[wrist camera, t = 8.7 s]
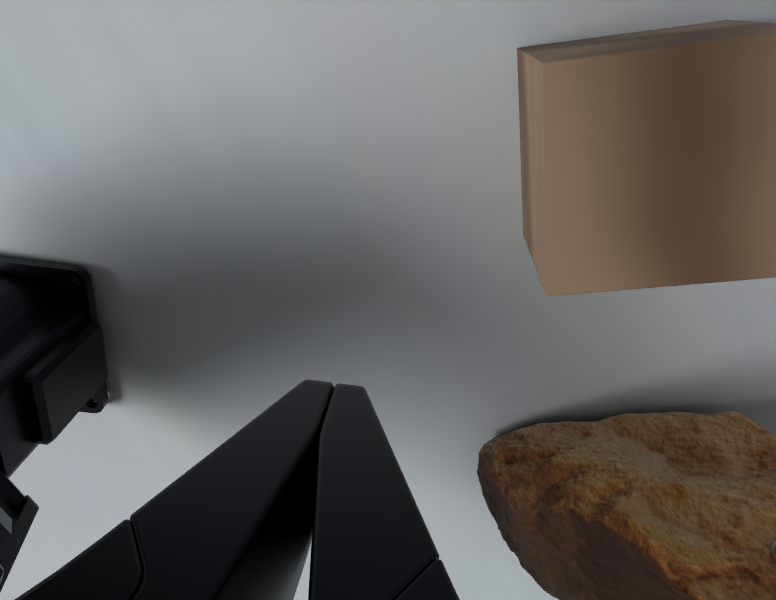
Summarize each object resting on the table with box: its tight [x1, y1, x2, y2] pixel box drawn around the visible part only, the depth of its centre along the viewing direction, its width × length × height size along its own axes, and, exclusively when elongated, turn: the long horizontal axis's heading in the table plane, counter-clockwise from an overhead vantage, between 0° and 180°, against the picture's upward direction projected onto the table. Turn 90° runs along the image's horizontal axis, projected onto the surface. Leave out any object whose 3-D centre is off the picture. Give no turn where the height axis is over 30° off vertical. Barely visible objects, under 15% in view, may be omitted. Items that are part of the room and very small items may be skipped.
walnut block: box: [517, 20, 776, 296], centre depth 17 cm, size 6×6×5 cm
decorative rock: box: [477, 411, 776, 600], centre depth 20 cm, size 12×6×11 cm, turn 106°
